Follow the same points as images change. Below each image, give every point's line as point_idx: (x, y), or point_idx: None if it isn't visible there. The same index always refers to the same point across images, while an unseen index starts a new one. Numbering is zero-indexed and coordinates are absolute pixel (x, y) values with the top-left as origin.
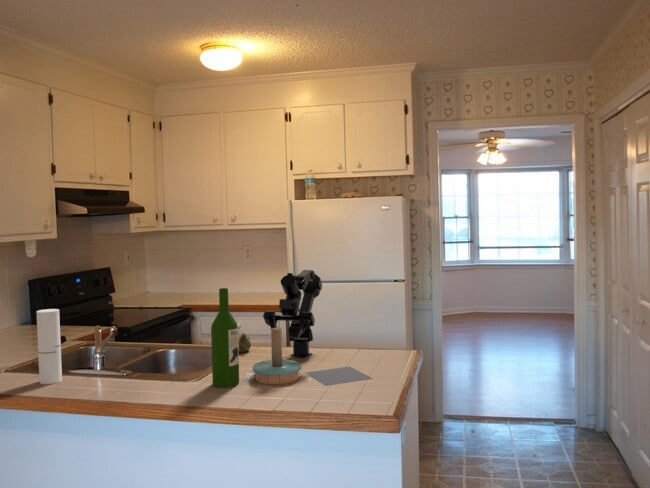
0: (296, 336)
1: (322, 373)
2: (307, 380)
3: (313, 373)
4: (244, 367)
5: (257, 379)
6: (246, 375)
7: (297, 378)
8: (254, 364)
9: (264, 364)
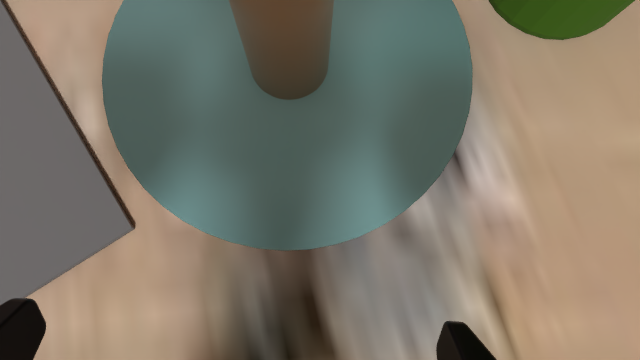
0: (18, 303)
1: (7, 219)
2: None
3: (70, 212)
4: (601, 343)
5: None
6: (504, 146)
7: None
8: (470, 80)
9: (394, 87)
